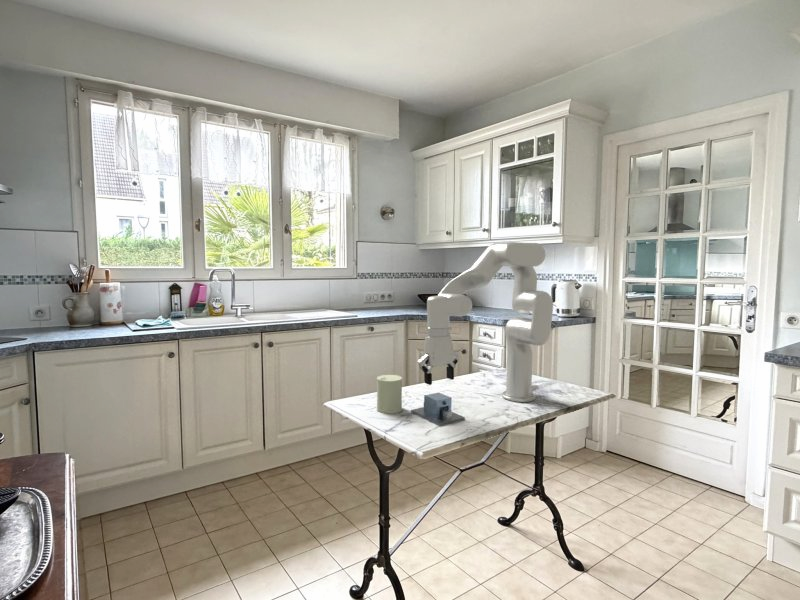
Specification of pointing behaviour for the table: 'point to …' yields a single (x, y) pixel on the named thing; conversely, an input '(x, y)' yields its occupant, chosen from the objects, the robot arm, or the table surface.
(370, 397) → the table surface
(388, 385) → the can
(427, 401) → the blue-grey slotted block
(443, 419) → the rail
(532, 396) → the robot arm
